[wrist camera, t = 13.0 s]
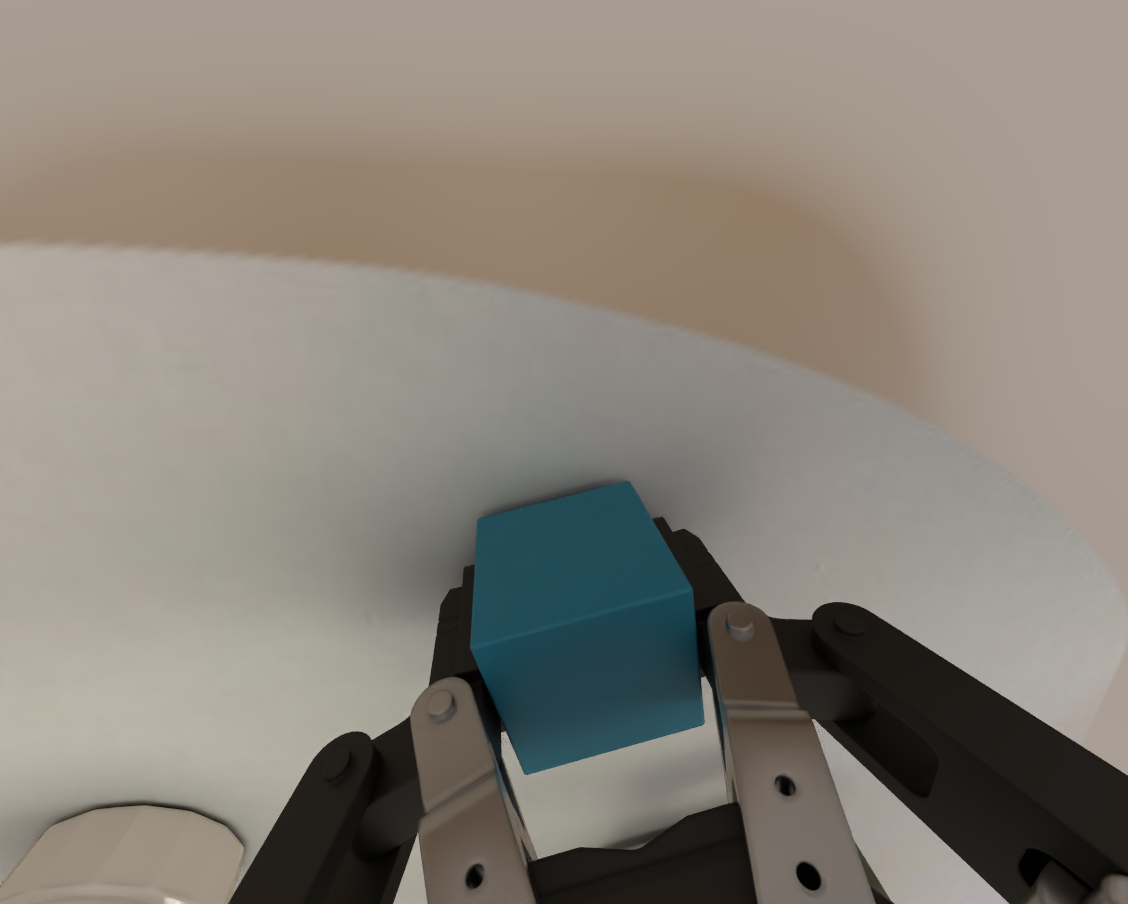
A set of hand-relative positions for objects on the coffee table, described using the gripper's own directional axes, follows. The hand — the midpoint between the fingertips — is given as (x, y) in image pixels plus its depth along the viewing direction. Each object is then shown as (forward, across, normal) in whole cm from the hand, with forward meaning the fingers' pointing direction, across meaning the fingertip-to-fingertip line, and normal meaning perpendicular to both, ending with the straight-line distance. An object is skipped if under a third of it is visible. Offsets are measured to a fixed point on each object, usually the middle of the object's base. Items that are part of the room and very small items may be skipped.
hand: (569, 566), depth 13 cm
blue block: (0, 0, 0) cm, 0 cm away
